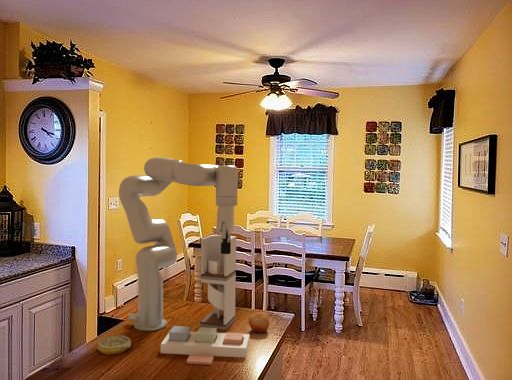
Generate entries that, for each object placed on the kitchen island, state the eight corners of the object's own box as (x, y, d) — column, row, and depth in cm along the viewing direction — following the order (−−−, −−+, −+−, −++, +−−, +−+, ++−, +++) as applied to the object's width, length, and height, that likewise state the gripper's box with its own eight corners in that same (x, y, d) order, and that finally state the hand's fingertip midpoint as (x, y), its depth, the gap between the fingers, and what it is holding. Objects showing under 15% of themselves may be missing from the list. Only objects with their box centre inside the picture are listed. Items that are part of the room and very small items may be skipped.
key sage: (196, 342, 146) (196, 333, 146) (199, 336, 152) (199, 327, 152) (213, 343, 146) (213, 334, 146) (216, 336, 152) (216, 328, 152)
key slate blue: (169, 341, 147) (169, 332, 147) (173, 334, 153) (173, 325, 153) (186, 342, 146) (186, 333, 146) (190, 335, 152) (190, 326, 152)
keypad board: (160, 353, 144) (160, 343, 144) (170, 339, 156) (170, 330, 156) (245, 357, 142) (246, 348, 142) (249, 343, 154) (249, 334, 154)
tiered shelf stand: (210, 317, 180) (212, 234, 178) (234, 320, 177) (236, 236, 175) (200, 326, 169) (201, 238, 167) (225, 329, 166) (226, 240, 164)
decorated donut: (136, 349, 147) (136, 339, 147) (107, 359, 139) (107, 348, 139) (121, 341, 154) (121, 330, 154) (92, 349, 146) (92, 339, 146)
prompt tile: (186, 363, 137) (186, 361, 137) (190, 356, 142) (190, 354, 142) (211, 364, 136) (211, 362, 136) (213, 357, 141) (213, 355, 141)
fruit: (270, 322, 171) (269, 308, 167) (268, 339, 164) (268, 325, 160) (250, 321, 172) (249, 307, 167) (248, 337, 165) (247, 324, 161)
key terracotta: (223, 348, 145) (223, 339, 145) (226, 341, 151) (226, 332, 151) (241, 349, 145) (241, 339, 145) (243, 342, 151) (243, 333, 151)
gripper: (219, 199, 156) (218, 249, 157) (211, 202, 141) (211, 257, 142) (239, 199, 155) (238, 249, 156) (234, 203, 140) (233, 258, 141)
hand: (225, 253), depth 149 cm, fingers closed
